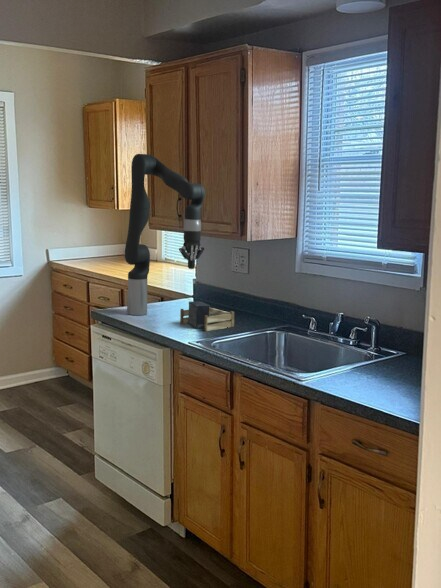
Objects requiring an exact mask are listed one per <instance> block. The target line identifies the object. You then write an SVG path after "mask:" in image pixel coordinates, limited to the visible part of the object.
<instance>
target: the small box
mask: <svg viewBox="0 0 441 588" xmlns="http://www.w3.org/2000/svg"><path fill="white" fill-rule="evenodd" d="M209 306H210V304H209V303H208V304H207V303H205V302H203V301H197V300H196V301H188V310H189V315H188V316H187V317H188V323H187V324H188V325H189V326H191V327H192V328H194V329H196V330H197V329H204V328H205V315H208V317H209V315H210V313H209ZM209 324H210V323H208V325H209Z"/></svg>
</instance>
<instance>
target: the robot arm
mask: <svg viewBox="0 0 441 588" xmlns="http://www.w3.org/2000/svg"><path fill="white" fill-rule="evenodd" d="M130 168H131V171H130V172H131V192H130V204H129V216H128V220H129V221H128V230H127V235H126V241H125V248H124V259H125V262H126V263H127V264H128V265H130V266H131V265H133V266H134V267H132V269H131V270H130V271H128V272H127V294H126V313H127V314H128V315H132V316H143V315H147V314H148V276H149V273H150V265H151V264H150V263H151V252H150V249H149V247H148V246H147V245H145V244H143V243H142V244H140V239H141V236H142V234H143V231H144V229H145V227H146V226H147V224H148V221H149V219H150V212H151V202H150V198H149V195H148V193H147V191H146V188H145V176H146V175H147V176H149V175H150V176H151V175H152V176H153V177H154V176H155V177H158V178H159V179H161V180H162V182H163V183H164V184H165V185H166V186H167V187H169V188H170V189H172V190H174V191H176V192H177V193H178V195H180V197H182V198H184V199H185V200H187V201H188V200H189V201H190V204H189V205H187V206H185V209H184V222H183V244H182V245H183V246H181V247H179V248H178V251H179V252H180V254H181V256H182V257H183V259H184V260H187V268H188V270H189V269H190V270H193V269H195V265H196V260H198V259H199V258H200V257H201V256H202V254H203V252H204V251H205V247H203V246H202V245H201V242H200V241H201V240H202V239H201V238H202V235H201V234H202V208H203V205H204V201H205V197H206V189H205V187H204V185H202V184H201V183H192V182H189V180H188V179H187V178H186V177H184V176H183V175H181V174H179V173H177V172H176V171H173V170H172V169H171V168H169V167H168V166H166V165H165V164H164V163H162V161H161V160H159V159H158V158H157V157H155V156H154V155H152V154H148V153H137V154H134V156H133V157H132V161H131V167H130Z"/></svg>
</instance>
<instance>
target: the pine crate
mask: <svg viewBox="0 0 441 588" xmlns="http://www.w3.org/2000/svg"><path fill="white" fill-rule="evenodd" d="M188 315H189V309H184V308H180V314H179V316H180V317H179V318H180V319H179V320H180V321H179V323H180V324H181V325H185V324H188ZM185 316H186V317H185ZM208 323H209V325H208ZM227 327H228V328H234V327H235V311H224V310H221V309H217V308H214V307H211V306H210V305H209V317H208V315H205V328H203V330H204V332H209V331H217V330H221V329H223V330H224V329H227Z"/></svg>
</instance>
